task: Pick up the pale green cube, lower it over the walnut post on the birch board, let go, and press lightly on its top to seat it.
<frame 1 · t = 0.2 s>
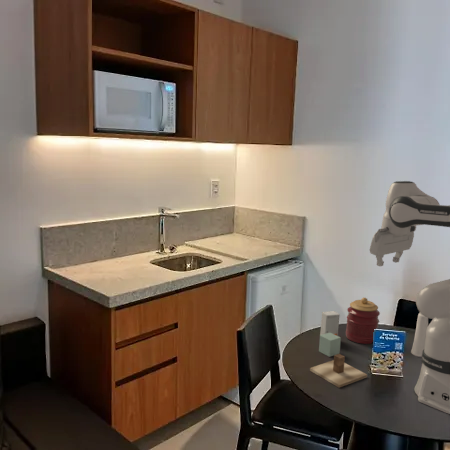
hand: (387, 263, 172), 39 cm above the table, tool pointing down, fingers open, 8 cm apart
cosmetic bottle: (419, 354, 190), on the table
skincare box: (328, 341, 200), on the table
pale green cube: (329, 352, 189), on the table
canister: (361, 338, 203), on the table
post board: (338, 373, 172), on the table
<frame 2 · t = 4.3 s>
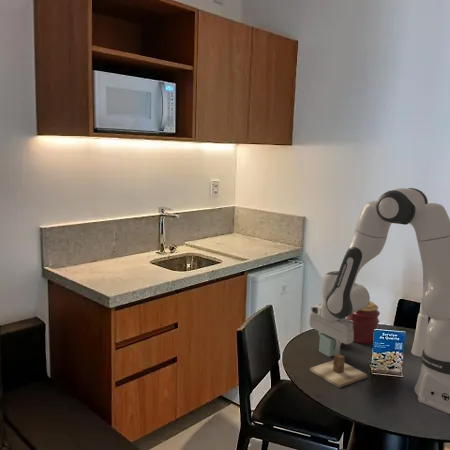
hand: (329, 346, 188), 3 cm above the table, tool pointing down, fingers closed on pale green cube, 6 cm apart
pale green cube: (329, 352, 189), on the table, touching gripper
everything else where it was.
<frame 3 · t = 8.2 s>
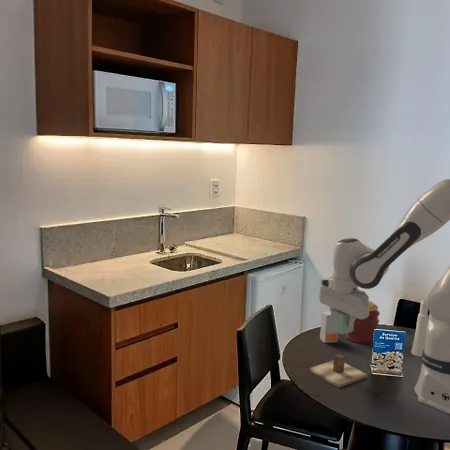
hand: (342, 322, 169), 19 cm above the table, tool pointing down, fingers closed on pale green cube, 6 cm apart
pale green cube: (341, 330, 170), point 16 cm above the table, touching gripper
everything else where it was.
when the fingers open (5 cm above the table, at t = 11.9 s): pale green cube drops 1 cm, resting on post board.
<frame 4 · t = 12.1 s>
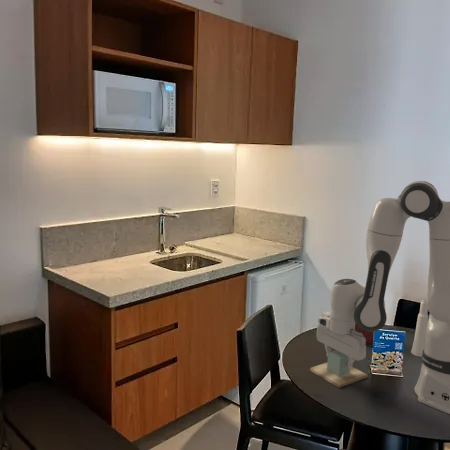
hand: (339, 361, 171), 5 cm above the table, tool pointing down, fingers open, 8 cm apart
pale green cube: (338, 371, 172), point 1 cm above the table, touching post board
everything else where it was.
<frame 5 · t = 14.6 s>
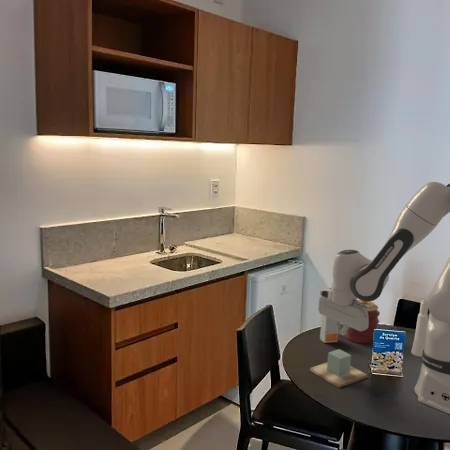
hand: (341, 333, 169), 15 cm above the table, tool pointing down, fingers closed
nothing on the table moved.
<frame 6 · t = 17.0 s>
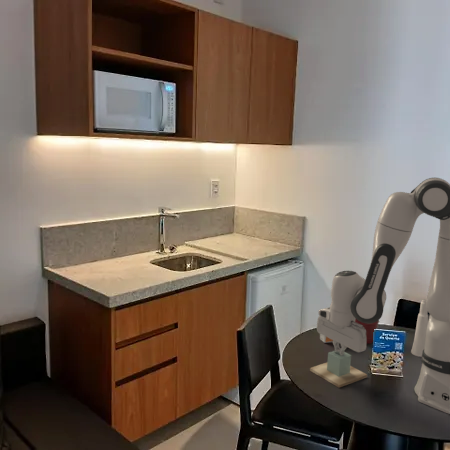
hand: (339, 353, 170), 8 cm above the table, tool pointing down, fingers closed, pressing on pale green cube
pale green cube: (338, 371, 172), point 1 cm above the table, touching gripper, post board
everything else where it was.
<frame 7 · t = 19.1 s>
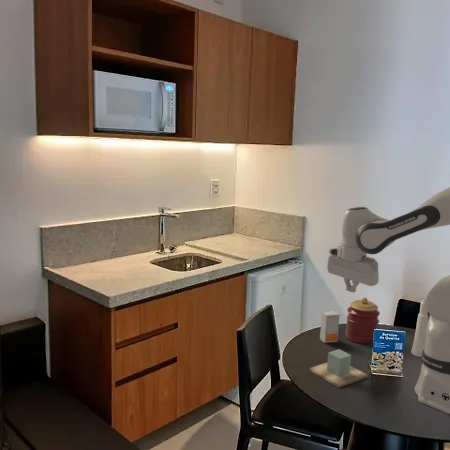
hand: (350, 291, 171), 29 cm above the table, tool pointing down, fingers closed
pale green cube: (338, 371, 172), point 1 cm above the table, touching post board
everything else where it was.
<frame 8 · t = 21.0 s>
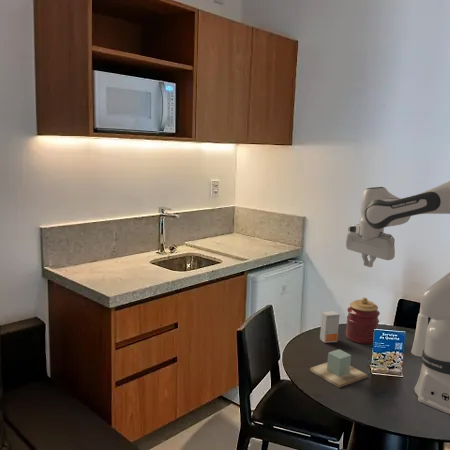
hand: (368, 266, 182), 35 cm above the table, tool pointing down, fingers closed
nothing on the table moved.
at the end: pale green cube 0.0 cm from the post board (horizontally); pale green cube point 1.0 cm above the table; pale green cube tilted 0° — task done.
